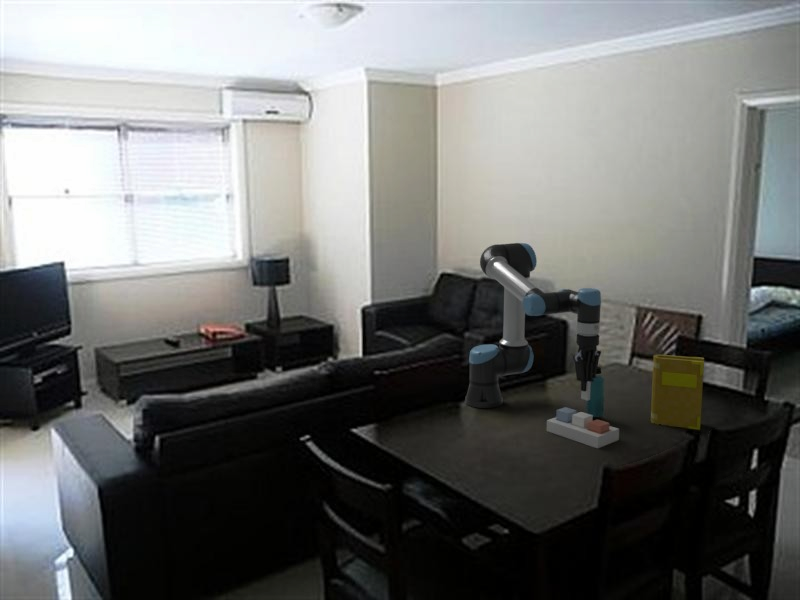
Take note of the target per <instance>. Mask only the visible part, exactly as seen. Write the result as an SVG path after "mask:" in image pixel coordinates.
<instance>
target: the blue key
mask: <svg viewBox="0 0 800 600" xmlns="http://www.w3.org/2000/svg"><path fill="white" fill-rule="evenodd" d="M576 413H578V411H577V410H576V409H573V408H570V407H567V406H564V407H562V408H559V409H558V408H557V409H556V413H555V414H556V416H555V417H556V420H558V421H561V422H565V423H571V422H572V415H573V414H576Z"/></svg>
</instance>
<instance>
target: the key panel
mask: <svg viewBox="0 0 800 600" xmlns="http://www.w3.org/2000/svg"><path fill="white" fill-rule="evenodd" d="M546 432H549V433H552V434H554V435H557V436H560V437H562V438H567V439H569V440H571V441H573V442H574V441H575V442H578V443H581V444H584V445H587V446H590V447H592V448H594V449H595V448H596V449H600V448H602V447H605V446H606V445H610V444H612V443H615V442H617V441H619V440H620V439H619V438H620V429H619V428H618V427H614V426H611V425H610V426H609V431H608V432H605V433H603V434H599V433H595V432H592V431H589V430H588V427H587V428H585V429H583V428H580V427H577V426H574V425H572V422H571V423H565V422H561V421H558V420H556V416H555V417H553V418H550V419H547V420H546Z"/></svg>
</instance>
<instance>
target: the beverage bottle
mask: <svg viewBox="0 0 800 600" xmlns="http://www.w3.org/2000/svg"><path fill="white" fill-rule="evenodd" d="M600 374H602V367H600V366H598V367H597V372H596V377H595V378H593V380H594V381H593V382H592V381H591V389H590V400H588V401H587V400H586V406H585V407H586V408H585V413H587V414H590V415H593V418H601V417H603V416H604V413H605V412H604V410H605V404H604V403H605V396H604V395H605V378H604V377H603V376H602V375H600Z"/></svg>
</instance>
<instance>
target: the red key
mask: <svg viewBox="0 0 800 600" xmlns="http://www.w3.org/2000/svg"><path fill="white" fill-rule="evenodd" d="M609 426H611V425H610V422H608V421H604V420H600V419H595V420H594V419H593V421H591V422H589V424H588V430H589V431H592V432H595V433H599V434H603V433H605V432H608V431H609Z"/></svg>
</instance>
